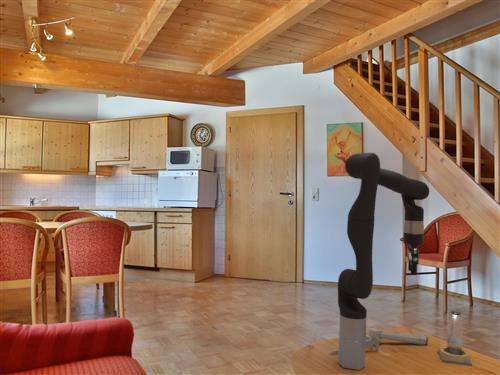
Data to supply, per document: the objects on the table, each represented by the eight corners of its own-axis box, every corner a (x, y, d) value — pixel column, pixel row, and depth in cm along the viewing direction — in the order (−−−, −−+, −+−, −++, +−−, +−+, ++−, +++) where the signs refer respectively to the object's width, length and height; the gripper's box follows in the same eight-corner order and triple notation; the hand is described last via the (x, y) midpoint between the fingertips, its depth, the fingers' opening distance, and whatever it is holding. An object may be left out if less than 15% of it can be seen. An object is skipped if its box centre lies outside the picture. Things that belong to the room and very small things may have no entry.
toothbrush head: (429, 337, 166) (370, 327, 165) (426, 353, 166) (367, 344, 164) (423, 332, 172) (365, 323, 170) (420, 348, 171) (363, 339, 170)
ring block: (471, 365, 148) (472, 358, 148) (442, 361, 151) (442, 354, 151) (465, 355, 157) (465, 348, 158) (437, 352, 160) (437, 345, 160)
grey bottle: (463, 360, 151) (464, 314, 151) (448, 358, 152) (449, 313, 152) (460, 355, 156) (461, 311, 156) (445, 353, 157) (447, 309, 157)
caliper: (376, 351, 160) (377, 334, 160) (378, 352, 159) (379, 335, 159) (329, 354, 155) (329, 337, 155) (330, 355, 154) (331, 338, 154)
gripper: (402, 230, 172) (400, 269, 171) (405, 233, 158) (404, 275, 158) (421, 231, 170) (420, 270, 169) (426, 234, 156) (425, 277, 156)
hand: (412, 272), depth 163 cm, fingers open, 8 cm apart
